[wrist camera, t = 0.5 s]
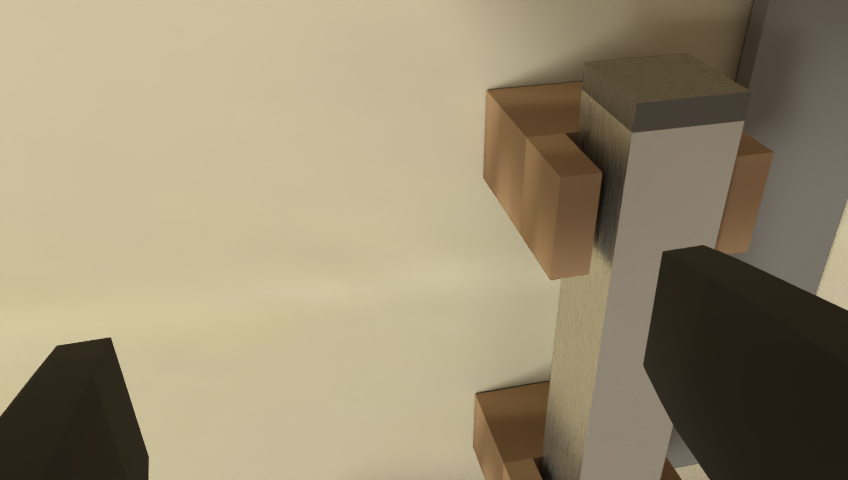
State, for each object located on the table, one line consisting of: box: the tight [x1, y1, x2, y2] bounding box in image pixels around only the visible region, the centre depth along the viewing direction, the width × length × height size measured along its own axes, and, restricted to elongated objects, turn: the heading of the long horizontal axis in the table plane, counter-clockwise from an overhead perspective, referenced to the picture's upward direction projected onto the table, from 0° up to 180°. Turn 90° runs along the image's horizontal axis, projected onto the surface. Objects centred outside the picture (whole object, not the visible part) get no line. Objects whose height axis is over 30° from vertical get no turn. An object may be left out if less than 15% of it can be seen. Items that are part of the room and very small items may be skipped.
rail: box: [540, 53, 751, 480], centre depth 19 cm, size 16×2×2 cm, turn 1°
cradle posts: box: [473, 81, 774, 480], centre depth 21 cm, size 13×5×5 cm, turn 1°
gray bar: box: [666, 0, 848, 468], centre depth 24 cm, size 18×4×1 cm, turn 1°
